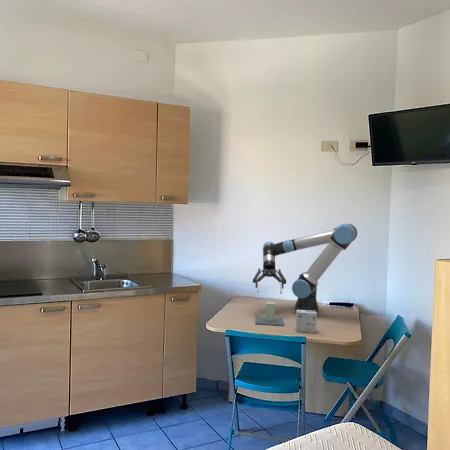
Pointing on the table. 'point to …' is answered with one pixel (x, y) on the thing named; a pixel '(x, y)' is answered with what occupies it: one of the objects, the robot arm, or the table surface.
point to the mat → (261, 321)
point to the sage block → (270, 311)
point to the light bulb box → (306, 321)
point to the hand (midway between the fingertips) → (269, 292)
